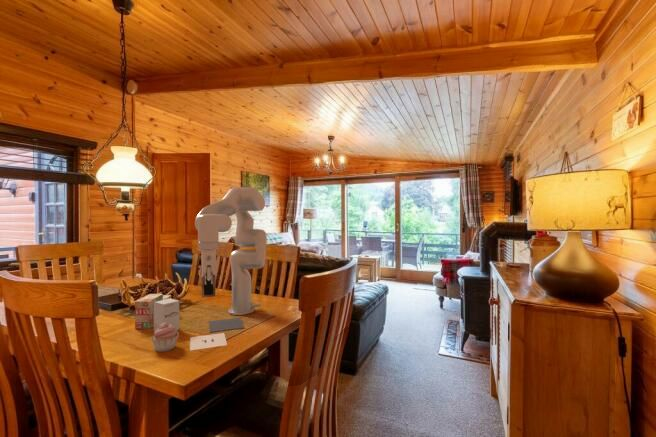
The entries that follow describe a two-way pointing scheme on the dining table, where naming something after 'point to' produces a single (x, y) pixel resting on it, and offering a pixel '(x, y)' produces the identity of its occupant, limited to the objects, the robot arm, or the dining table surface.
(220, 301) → the dining table surface
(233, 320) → the mat
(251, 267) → the robot arm
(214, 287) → the walnut block
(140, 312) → the white printed carton
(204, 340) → the tile
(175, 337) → the cupcake
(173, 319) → the supplement box
